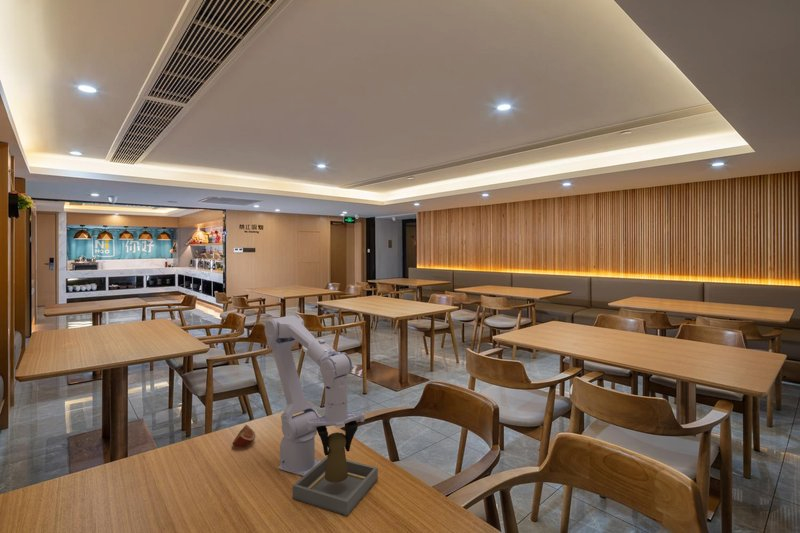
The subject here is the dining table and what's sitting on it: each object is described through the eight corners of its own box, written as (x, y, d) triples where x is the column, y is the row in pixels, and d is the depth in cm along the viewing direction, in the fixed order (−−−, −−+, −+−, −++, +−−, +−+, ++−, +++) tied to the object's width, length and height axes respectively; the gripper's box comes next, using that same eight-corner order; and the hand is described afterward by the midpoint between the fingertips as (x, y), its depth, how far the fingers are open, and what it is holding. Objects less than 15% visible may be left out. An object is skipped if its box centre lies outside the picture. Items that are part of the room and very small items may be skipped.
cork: (344, 483, 102) (345, 440, 102) (321, 481, 103) (322, 438, 102) (350, 471, 108) (350, 430, 108) (328, 469, 109) (328, 429, 108)
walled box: (292, 498, 102) (292, 485, 102) (328, 466, 116) (328, 455, 116) (347, 516, 95) (347, 502, 95) (377, 480, 110) (377, 467, 110)
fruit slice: (237, 438, 133) (236, 424, 133) (258, 437, 134) (257, 423, 133) (229, 452, 125) (229, 436, 124) (251, 450, 125) (251, 435, 125)
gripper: (310, 410, 98) (311, 464, 99) (367, 402, 103) (367, 453, 104) (306, 400, 105) (306, 451, 106) (360, 393, 110) (360, 441, 111)
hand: (336, 451), depth 105 cm, fingers closed on cork, 5 cm apart
